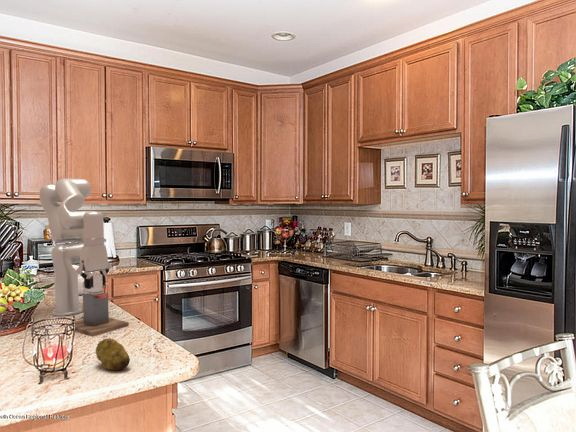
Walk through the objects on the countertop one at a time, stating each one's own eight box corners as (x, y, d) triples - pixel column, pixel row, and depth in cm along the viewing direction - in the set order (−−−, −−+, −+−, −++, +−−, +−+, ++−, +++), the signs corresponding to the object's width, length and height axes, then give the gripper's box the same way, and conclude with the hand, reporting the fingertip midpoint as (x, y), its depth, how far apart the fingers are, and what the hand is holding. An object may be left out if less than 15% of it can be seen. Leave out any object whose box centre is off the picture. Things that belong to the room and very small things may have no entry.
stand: (63, 327, 180) (62, 294, 179) (99, 318, 193) (98, 287, 192) (92, 336, 169) (91, 301, 168) (128, 325, 182) (127, 293, 181)
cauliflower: (47, 282, 230) (65, 256, 239) (51, 292, 245) (68, 266, 254) (84, 298, 233) (100, 271, 242) (86, 306, 248) (101, 281, 256)
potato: (102, 376, 131) (102, 349, 130) (94, 363, 141) (93, 338, 141) (131, 370, 135) (131, 344, 135) (121, 357, 146) (120, 333, 146)
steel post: (88, 323, 180) (87, 275, 179) (97, 320, 184) (96, 273, 183) (94, 324, 178) (93, 276, 177) (104, 322, 181) (102, 274, 180)
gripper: (107, 240, 188) (108, 282, 189) (68, 244, 174) (69, 289, 175) (118, 241, 184) (119, 284, 185) (78, 245, 170) (80, 292, 171)
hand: (95, 286), depth 180 cm, fingers open, 5 cm apart
